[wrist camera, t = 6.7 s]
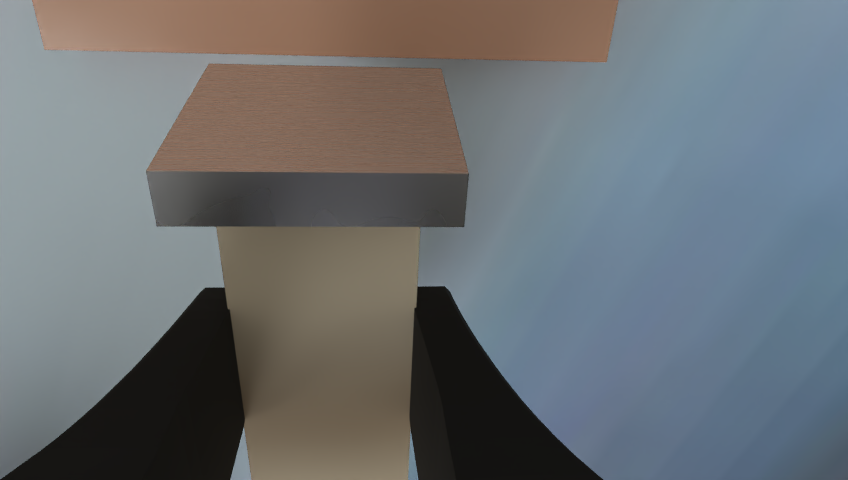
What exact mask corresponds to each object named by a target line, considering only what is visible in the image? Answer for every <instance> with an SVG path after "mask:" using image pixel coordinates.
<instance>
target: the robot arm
mask: <svg viewBox="0 0 848 480" xmlns="http://www.w3.org/2000/svg"><path fill="white" fill-rule="evenodd" d="M409 420H410V427H411V434H412V440H413V447H414V453H415V460H416V466H417V473H418V479H419V480H603V479H602V478H601V477H600V476H598V475H597V474H596V473H595V472H594V471H593V470H591V469H590V468H589V467H588V466H587V465H585V464H584V463H583V462H582V461H581V460H580V459H578V458H577V457H576V456H575V455H574V454H573V453H572V452H571V451H570V450H569V449H568V448H567V447H566V446H565V445H564V444H563V443H562V442H561V441H560V440H558V439H557V438H556V437H555V436H554V435H553V434H552V433H551V431H550V430H549V429H548V428H547V427H546V426H545V425H544V424H543V423H542V422H541V421H540V420H539V419H538V418H537V417H536V416H535V415H534V413H533V412H532V411H531V410H530V409H529V408H528V407H527V405H526V404H525V403H524V402H523V401H522V400H521V398H520V397H519V396H518V395H517V393H516V392H515V391H514V390H513V389H512V387H511V386H510V385H509V384H508V382H507V381H506V380H505V378H504V377H503V376H502V375H501V373H500V372H499V371H498V369H497V368H496V367H495V365H494V364H493V362H492V361H491V359H490V358H489V356H488V355H487V354H486V352H485V351H484V349H483V348H482V346H481V345H480V344H479V342H478V340H477V339H476V337H475V336H474V334H473V333H472V331H471V329H470V328H469V326H468V324H467V323H466V321H465V320H464V318H463V316H462V314H461V313H460V311H459V309H458V307H457V305H456V303H455V301H454V299H453V297H452V295H451V293H450V291H449V290H448V289H447V288H446V287H445V286H440V287H417V302H416V308H414V327H413V348H412V369H411V391H410V412H409ZM244 423H245V416H244V409H243V401H242V394H241V387H240V380H239V372H238V365H237V358H236V351H235V343H234V336H233V329H232V321H231V314H230V309H228V307H227V300H226V293H225V288H205V289H204V290H202V291H201V292H200V293H199V294H198V296H197V297H196V298H195V299H194V300H193V302H192V303H191V304H190V305H189V306H188V308H187V309H186V310H185V311H184V312H183V313H182V315H181V316H180V317H179V318H178V319H177V321H176V322H175V323H174V324H173V325H172V326H171V327H170V329H169V330H168V331H167V332H166V333H165V334H164V335H163V337H162V338H161V339H160V340H159V341H158V342H157V343H156V344H155V345H154V346H153V348H152V349H151V350H150V351H149V352H148V353H147V354H146V355H145V356H144V357H143V358H142V359H141V361H140V362H139V363H138V364H137V365H136V366H135V367H134V368H133V369H132V370H131V371H130V372H129V373H128V374H127V375H126V376H125V377H124V378H123V379H122V380H121V381H120V382H119V383H118V384H117V385H116V386H115V387H114V388H113V389H112V390H111V391H110V392H108V393H107V394H106V395H105V396H104V397H103V398H102V399H101V400H100V401H99V402H98V403H97V404H96V405H95V406H94V407H93V408H92V409H90V410H89V411H88V412H87V413H86V414H85V415H84V416H83V417H81V418H80V419H79V420H78V421H77V422H76V423H74V424H73V425H72V426H71V427H70V428H69V429H67V430H66V431H65V432H64V433H62V434H61V435H60V436H59V437H58V438H56V439H55V440H54V441H53V442H51V443H50V444H49V445H48V446H46V447H45V448H44V449H42V450H41V451H40V452H38V453H37V454H35V455H34V456H33V457H31V458H30V459H28V460H27V461H26V462H24V463H23V464H21V465H20V466H19V467H17V468H16V469H14V470H13V471H12V472H10V473H9V474H7V475H6V476H5V477H3V478H2V479H0V480H230V478H231V474H232V470H233V466H234V463H235V459H236V455H237V451H238V447H239V443H240V439H241V435H242V431H243V427H244Z"/></svg>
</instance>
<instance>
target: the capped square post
mask: <svg viewBox="0 0 848 480" xmlns="http://www.w3.org/2000/svg"><path fill="white" fill-rule="evenodd" d="M146 173H147V178H148V183H149V189H150V194H151V199H152V204H153V209H154V214H155V219H156V225H157V226H216V228H217V235H218V242H219V250H220V257H221V264H222V271H223V278H224V285H225V293H226V300H227V307H228V309H230V314H231V321H232V329H233V336H234V343H235V351H236V358H237V365H238V372H239V380H240V387H241V394H242V401H243V409H244V416H245V423H244V429H245V436H246V443H247V450H248V458H249V465H250V472H251V479H252V480H408V467H409V446H410V420H409V412H410V391H411V369H412V348H413V327H414V308H416V302H417V282H418V261H419V240H420V227H464V222H465V210H466V199H467V188H468V177H469V173H468V169H467V165H466V161H465V158H464V154H463V150H462V146H461V142H460V139H459V135H458V131H457V127H456V123H455V120H454V116H453V112H452V108H451V104H450V101H449V97H448V93H447V89H446V85H445V82H444V78H443V74H442V70H441V69H437V68H389V67H341V66H292V65H244V64H208V66H207V68H206V70H205V71H204V73H203V75H202V76H201V78H200V80H199V82H198V83H197V85H196V87H195V88H194V90H193V92H192V93H191V95H190V97H189V99H188V100H187V102H186V104H185V105H184V107H183V109H182V111H181V112H180V114H179V116H178V117H177V119H176V121H175V123H174V124H173V126H172V128H171V129H170V131H169V133H168V134H167V136H166V138H165V140H164V141H163V143H162V145H161V146H160V148H159V150H158V152H157V153H156V155H155V157H154V158H153V160H152V162H151V164H150V165H149V167H148V169H147V170H146Z"/></svg>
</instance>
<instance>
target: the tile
mask: <svg viewBox="0 0 848 480" xmlns="http://www.w3.org/2000/svg"><path fill="white" fill-rule="evenodd" d="M32 2H33V6H34V10H35V14H36V17H37V21H38V25H39V29H40V33H41V37H42V41H43V45H44V49H45V50H82V51H127V52H171V53H216V54H261V55H305V56H350V57H395V58H440V59H484V60H529V61H574V62H607V57H608V52H609V47H610V41H611V36H612V31H613V26H614V21H615V15H616V10H617V5H618V0H32Z"/></svg>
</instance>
